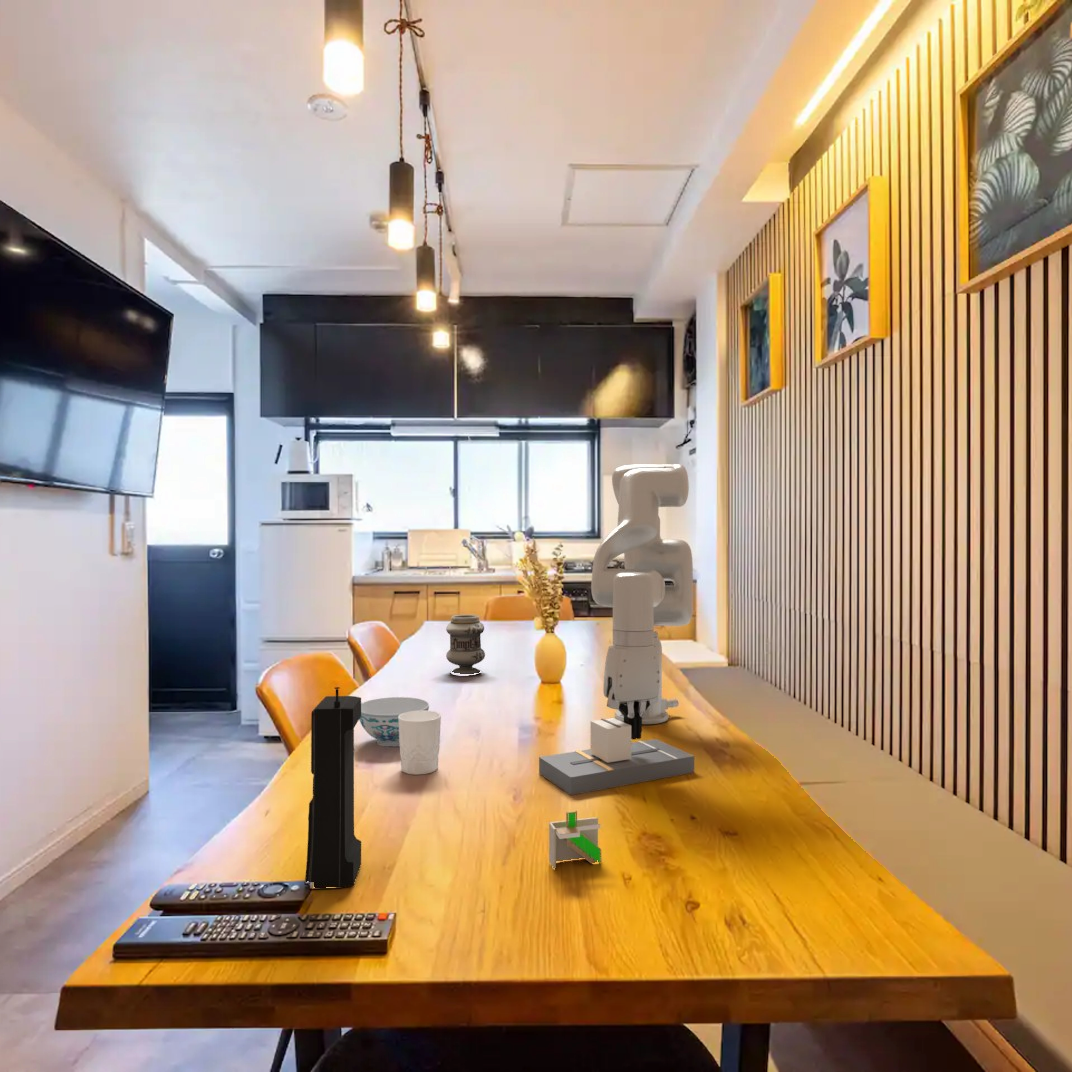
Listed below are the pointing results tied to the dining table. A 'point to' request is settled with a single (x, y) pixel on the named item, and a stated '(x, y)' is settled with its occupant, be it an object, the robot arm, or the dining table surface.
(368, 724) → the chinaware
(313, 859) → the portable radio
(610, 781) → the board
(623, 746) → the fader tab
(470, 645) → the apothecary jar
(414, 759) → the white cup
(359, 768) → the dining table surface
